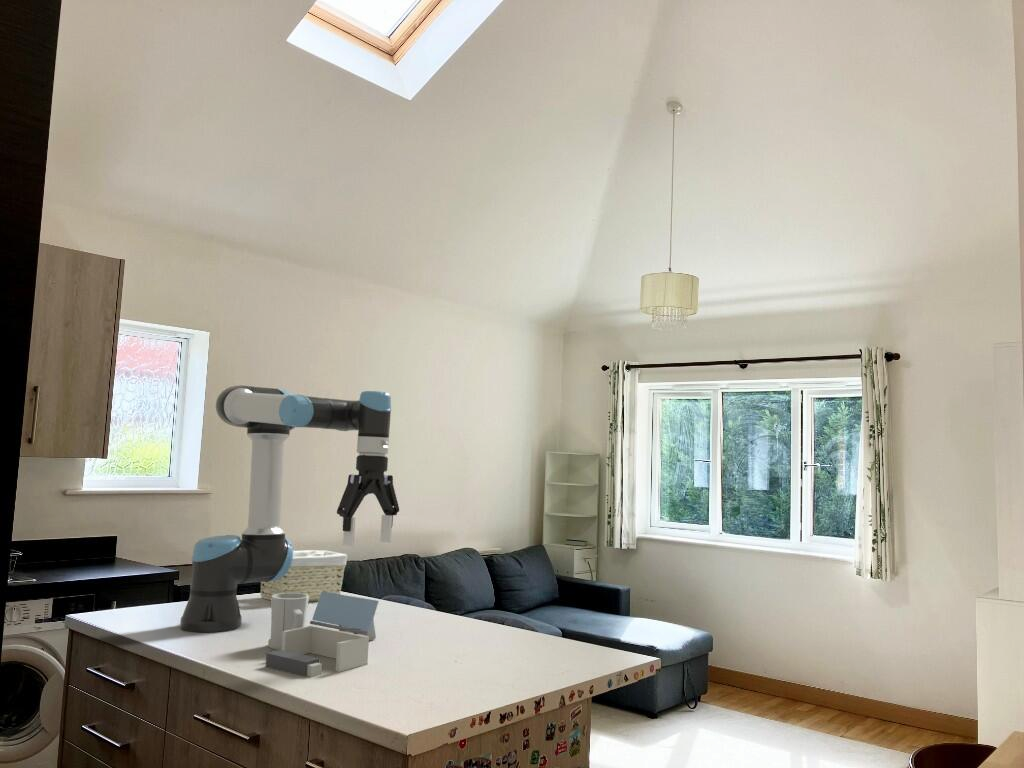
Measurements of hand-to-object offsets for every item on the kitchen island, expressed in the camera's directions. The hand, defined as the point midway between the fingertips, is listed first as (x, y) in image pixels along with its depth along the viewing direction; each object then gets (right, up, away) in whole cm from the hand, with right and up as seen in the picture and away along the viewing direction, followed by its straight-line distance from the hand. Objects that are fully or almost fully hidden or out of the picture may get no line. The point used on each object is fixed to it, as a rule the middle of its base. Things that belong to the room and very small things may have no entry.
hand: (367, 543), depth 192 cm
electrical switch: (-5, -27, +10) cm, 29 cm away
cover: (-5, -15, -6) cm, 17 cm away
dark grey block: (-13, -23, -19) cm, 33 cm away
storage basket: (-33, -31, +66) cm, 81 cm away
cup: (-19, -25, +1) cm, 32 cm away
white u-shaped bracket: (-7, -24, -11) cm, 28 cm away
